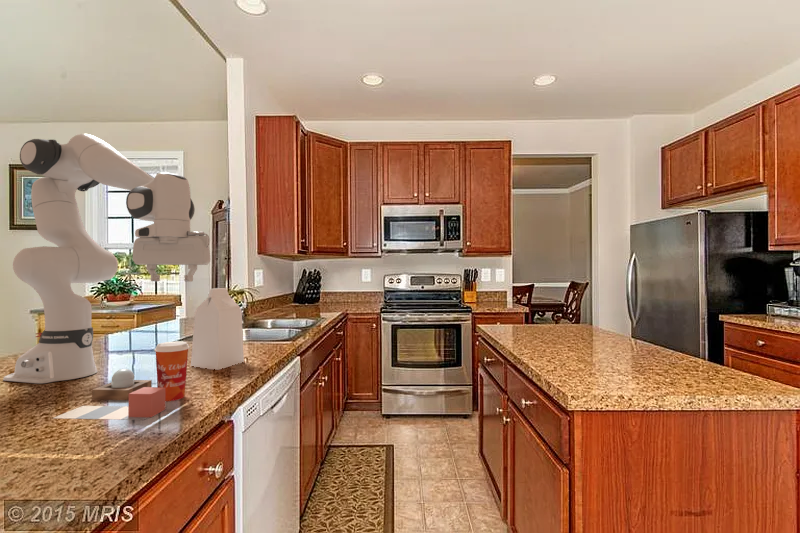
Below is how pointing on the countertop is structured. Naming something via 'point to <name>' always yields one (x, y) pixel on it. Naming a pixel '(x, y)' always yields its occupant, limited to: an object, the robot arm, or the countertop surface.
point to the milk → (217, 332)
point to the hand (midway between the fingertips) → (171, 281)
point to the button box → (118, 391)
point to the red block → (146, 402)
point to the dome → (122, 378)
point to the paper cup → (172, 368)
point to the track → (99, 413)
